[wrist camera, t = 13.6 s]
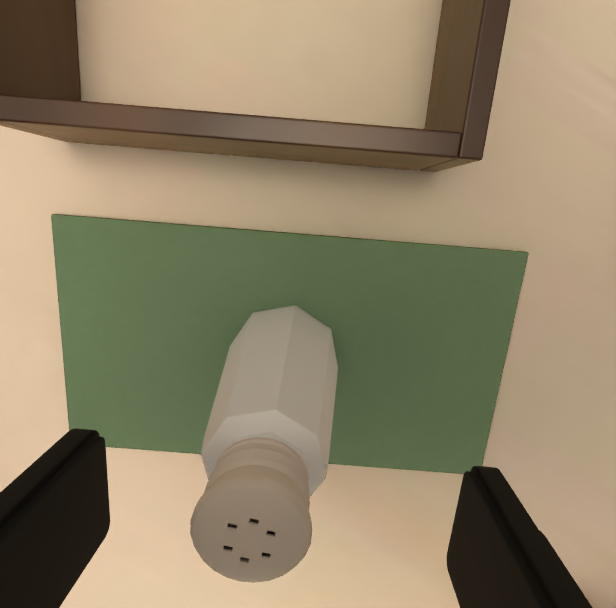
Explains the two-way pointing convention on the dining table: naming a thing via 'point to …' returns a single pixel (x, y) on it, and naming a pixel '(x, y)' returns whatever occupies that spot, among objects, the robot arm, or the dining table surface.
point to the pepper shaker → (266, 446)
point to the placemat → (275, 294)
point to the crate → (251, 128)
